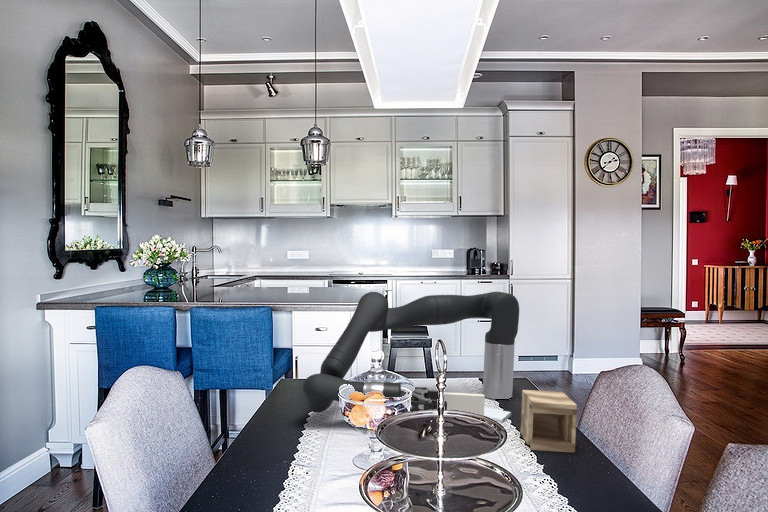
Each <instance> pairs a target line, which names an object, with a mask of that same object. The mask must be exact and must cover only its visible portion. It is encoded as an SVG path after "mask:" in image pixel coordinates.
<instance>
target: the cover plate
mask: <svg viewBox="0 0 768 512" xmlns="http://www.w3.org/2000/svg"><path fill="white" fill-rule="evenodd" d="M443 392H444V391H443ZM485 399H486V397H485V396H484V394H483V393H466V392H464V393H463V392H462V393H461V392H449V391H448V392H444V400H445V401H446V402H447V410H459V411H466V412H471V413H475V414H480V415H484V407H485Z"/></svg>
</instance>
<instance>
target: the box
mask: <svg viewBox="0 0 768 512" xmlns="http://www.w3.org/2000/svg"><path fill="white" fill-rule="evenodd" d="M577 409H578V405H577V403H575V402H574V401H573V400H572V399H571V398H570V397H569V396H567V395H566V394H565V393H564V392H563V391H554V390H553V391H552V390H537V389H536V390H535V389H534V390H533V389H521V409H520V427H519V428H520V431H519V432H520V435H521V436H522V438H523V440H524V441H525V443H526V445H529V446H530V447H529V449H530V451H542V452H543V451H544V452H557V453H558V452H560V453H561V452H562V453H576V437H577V436H576V434H577V433H576V432H577V431H576V430H577V411H578V410H577Z"/></svg>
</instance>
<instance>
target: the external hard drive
mask: <svg viewBox="0 0 768 512" xmlns="http://www.w3.org/2000/svg"><path fill="white" fill-rule="evenodd" d="M484 415H485V416H487V417H490V418H492V419H494V420H496V421H497V422H496V423H498V422H499V423H498V424H503V423H504V422H506V421H507V420H508V419H509V418H510V417H512V412H511V411H507V410H503V409H497V408H493V407H492V408H491V407H487V406H484Z"/></svg>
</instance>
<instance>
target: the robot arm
mask: <svg viewBox="0 0 768 512" xmlns="http://www.w3.org/2000/svg"><path fill="white" fill-rule="evenodd" d="M467 319H490V320H491V322H490V328H489V330H488V331H487V332H485V335H484V358H483V359H484V360H483V362H484V363H483V375H482V376H483V380H482V394H484V396H485V398H487V399H490V398H491V399H490V400H495V399H509V398H511V397H512V398H513V389H514V387H513V385H514V367H515V366H514V363H515V361H514V360H515V344H516V343H515V340H516V337H517V335H518V333H519V332H518V331H519V322H520V304H519V301H518V299H517V298H516V296H515V295H513V294H511V293H508V292H502V291H491V292H486V293H480V294H472V295H471V294H470V295H460V294H434V295H425V296H422V297H419V298H417V299H414V300H412V301H410V302H408V303H406V304H404V305H401V306H396V307H389V301H388V299H387V297H386V296H385V295H383V294H382V293H380V292H378V291H369V292H366V293H365V294H363V295H362V296H361V297H360V299H359V300H358V303H357V306H356V307H355V311H354V313H353V315H352V317H351V319H350V320H349V322H348V323H347V326H346V327H345V328H344V330H343V332H342V334H341V335H340V336H339V338H338V339H337V341H336V342H335V344H334V345H333V347H332V348H331V350H330V351H329V352H328V354H327V355H326V357H325V358H324V359H323V361H322V363H321V366H320V373H314V374H311V375H309V376H308V377H306V378H305V380H304V382H303V384H302V390H303V396H304V401H305V402H304V403H305V405H306V407H307V409H308V410H309V411H310V412H312V413H317V414H319V413H323V412H325V411H327V410H328V408H330V407H331V406H332V404H333V403H334V401H335V402H338V403H339V396H338V388H339V387H340V386H341V385H343V384H347V385H348V384H350V385H352V386H353V387H354V389H355V391H358V392H362V393H367V392H371V391H382V393H383V395H384V396H385V397H402V396H404V395H405V394H406V392H404V391H405V390H402V386H401V383H400V382H395V381H394V382H393V381H392V382H391V381H377V380H375V381H373V380H372V381H357V380H355V381H354V380H347V379H344V378H345V377H346V375H347V374H348V372H349V371H350V369H351V367H352V365H353V364H354V362H355V361H356V359H357V356H358V355H359V352H360V350H361V348H362V346H363V344H364V342H365V340H366V338H367V336H368V333H369V332H370V333H373V332H374V333H376V332H381V331H389V330H393V329H401V328H408V327H411V328H412V327H421V326H439V325H440V326H442V325H450V324H454V323H458V322H461V321H463V320H467ZM364 382H365V383H364ZM414 387H415V390H414V391H413V392H412V397H411V407H410V411H411V412H410V413H414V412H413V411H419V410H431V411H434V410H433V409H437V399H438V391H439V390H430V389H428V388H427V387H422V386H421V387H420V386H414ZM409 393H410V392H408V394H409ZM509 400H510V399H509ZM446 410H447V402H446V401H445V411H446Z"/></svg>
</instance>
